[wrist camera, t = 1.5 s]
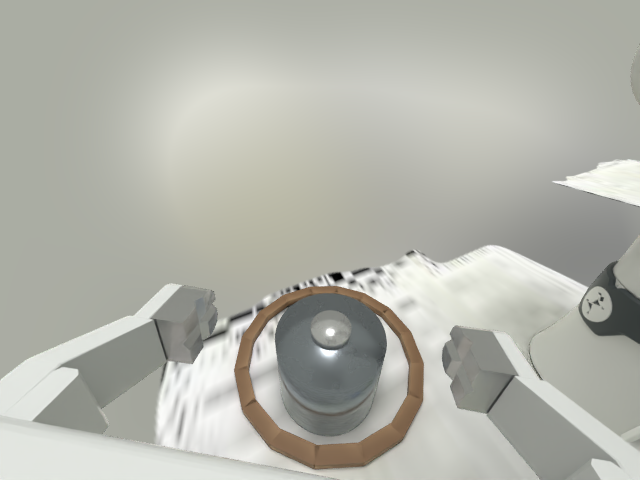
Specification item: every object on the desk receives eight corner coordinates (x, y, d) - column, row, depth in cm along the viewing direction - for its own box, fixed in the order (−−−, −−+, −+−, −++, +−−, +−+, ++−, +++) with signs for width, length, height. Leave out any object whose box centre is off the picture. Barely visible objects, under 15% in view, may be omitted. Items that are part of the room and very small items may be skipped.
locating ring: (422, 313, 39) (424, 308, 39) (418, 518, 21) (421, 515, 21) (287, 277, 46) (286, 273, 45) (193, 412, 27) (191, 408, 27)
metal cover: (380, 355, 33) (394, 301, 28) (364, 454, 25) (379, 403, 19) (302, 331, 36) (301, 277, 31) (263, 411, 28) (251, 357, 22)
